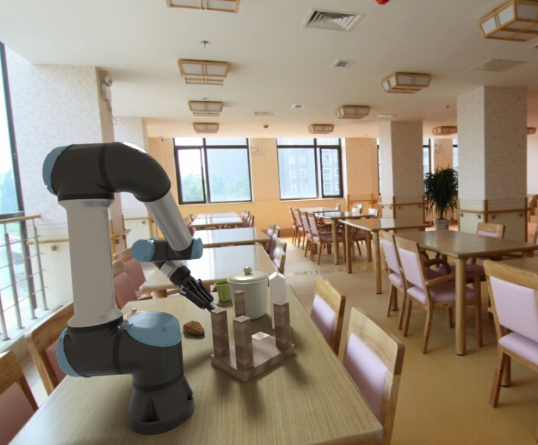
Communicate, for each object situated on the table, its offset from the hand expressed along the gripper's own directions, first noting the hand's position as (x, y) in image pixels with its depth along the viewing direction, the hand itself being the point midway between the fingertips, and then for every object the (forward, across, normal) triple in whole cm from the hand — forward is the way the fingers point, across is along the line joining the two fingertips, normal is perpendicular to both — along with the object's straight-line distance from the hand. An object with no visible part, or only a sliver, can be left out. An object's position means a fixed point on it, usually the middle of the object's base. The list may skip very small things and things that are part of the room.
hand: (222, 317), depth 112 cm
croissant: (-4, -4, -16) cm, 17 cm away
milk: (+18, -15, +6) cm, 24 cm away
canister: (+8, -23, -4) cm, 25 cm away
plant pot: (-6, -42, -18) cm, 46 cm away
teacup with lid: (-17, +3, -29) cm, 34 cm away
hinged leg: (+10, +4, +2) cm, 10 cm away
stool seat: (+16, +10, +5) cm, 20 cm away
